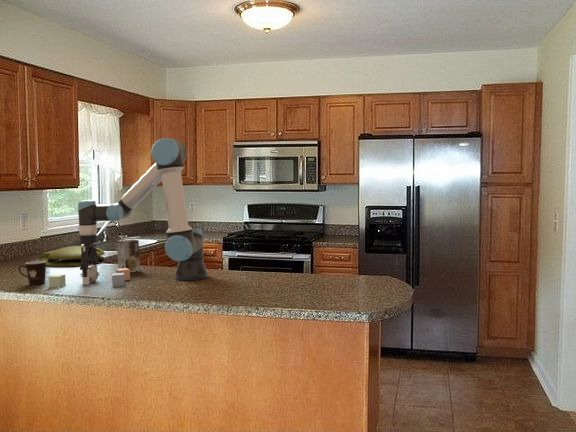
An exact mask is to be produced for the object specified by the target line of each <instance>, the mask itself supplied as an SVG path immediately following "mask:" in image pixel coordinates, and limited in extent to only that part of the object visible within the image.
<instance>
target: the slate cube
mask: <svg viewBox="0 0 576 432" xmlns="http://www.w3.org/2000/svg"><path fill="white" fill-rule="evenodd" d="M111 280H112V281H111V282H112V287H123V286H125V280H124V273H116V272H115V273H112V274H111Z"/></svg>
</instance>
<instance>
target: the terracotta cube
mask: <svg viewBox="0 0 576 432" xmlns="http://www.w3.org/2000/svg"><path fill="white" fill-rule="evenodd" d="M115 273H124V281H130V280H131V273H130V269H128V268H122V269H118V268H115Z"/></svg>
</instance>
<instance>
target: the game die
mask: <svg viewBox="0 0 576 432" xmlns="http://www.w3.org/2000/svg"><path fill="white" fill-rule="evenodd" d="M96 265H97V264H96ZM96 265H95V267H96ZM95 267H91V266H88V269H89V284H90V283H95V284H97V283H98V282H97V280H98V279H99V277H100V276H101V275H100V272H99V271H98V269H97V270H96V268H95ZM79 275H80V278H82V273H80V274H79ZM97 278H98V279H97Z"/></svg>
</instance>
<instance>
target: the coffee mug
mask: <svg viewBox="0 0 576 432" xmlns="http://www.w3.org/2000/svg"><path fill="white" fill-rule="evenodd" d="M21 268H25V269H26V273H27V275H26V274H24V273H23V272H21ZM17 270H18V272H19V273H20V274H21V275H22V276H23V277H25V278H26V279H28V284H29V286H32V285H35V286H41V285H40V284H42V285H45V284H46V272H47V267H46V261H40V260H37V261H36V260H35V261H28V262H25V265H23V264H22V265H20V266H19V267H18V269H17ZM44 283H45V284H44Z"/></svg>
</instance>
